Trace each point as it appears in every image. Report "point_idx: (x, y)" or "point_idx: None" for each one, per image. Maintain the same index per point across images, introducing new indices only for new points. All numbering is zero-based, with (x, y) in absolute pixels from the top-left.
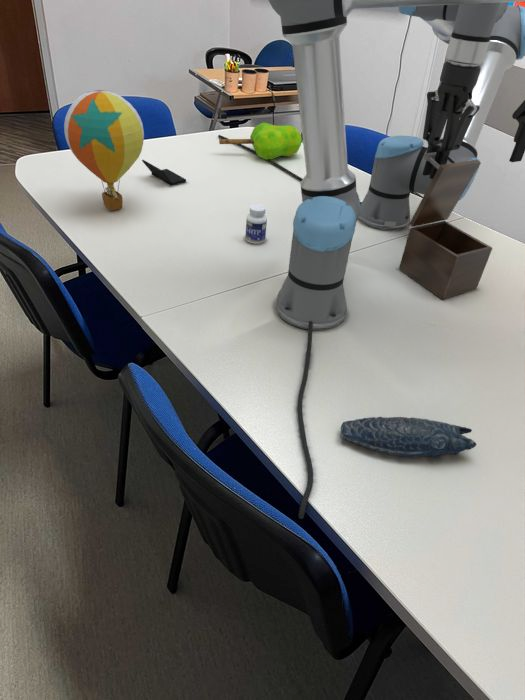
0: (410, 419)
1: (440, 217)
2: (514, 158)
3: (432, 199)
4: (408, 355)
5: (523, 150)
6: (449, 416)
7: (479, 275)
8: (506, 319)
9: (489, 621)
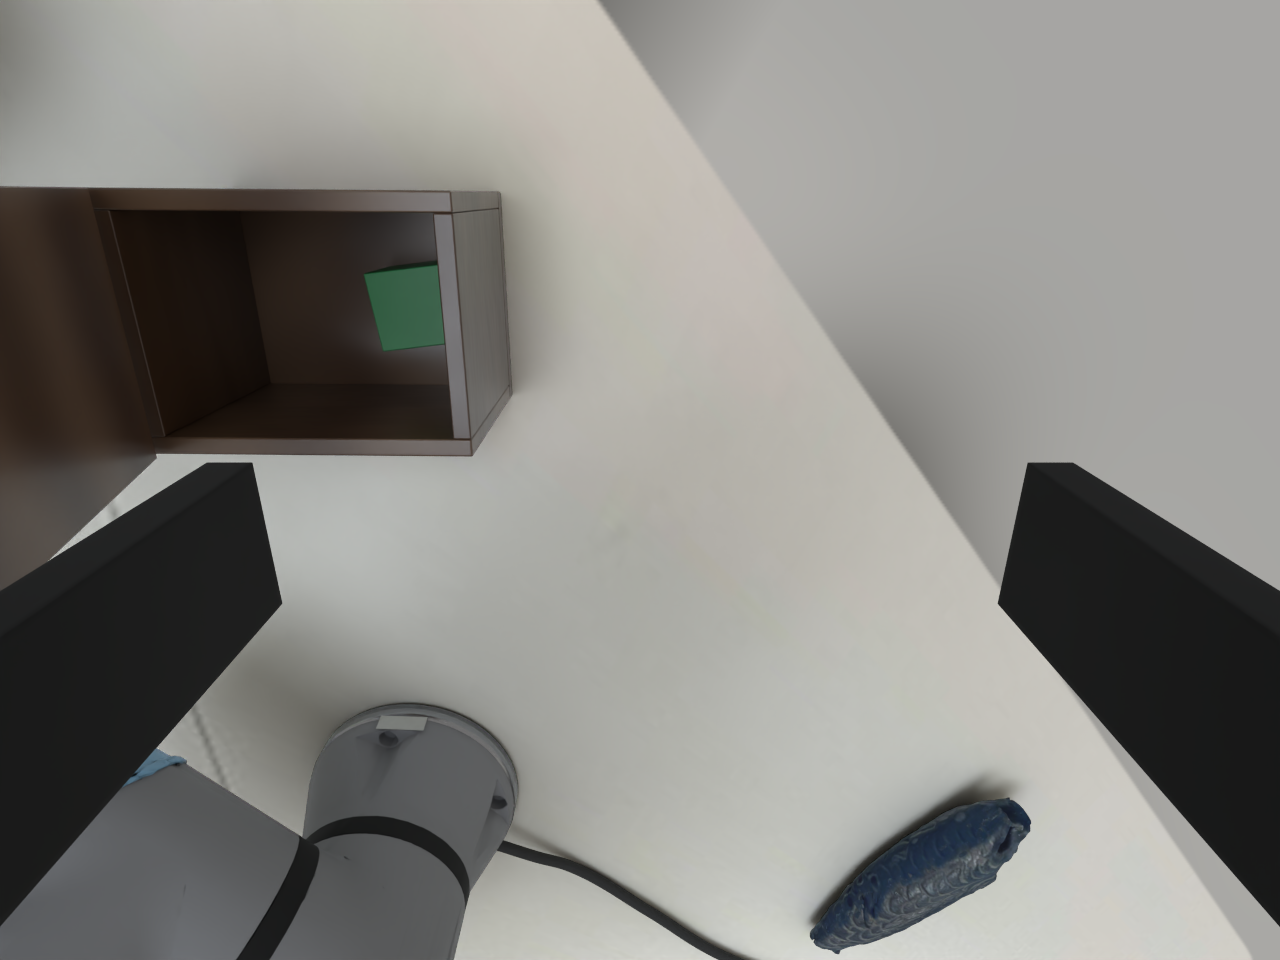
0: (915, 906)
1: (95, 270)
2: (259, 613)
3: (70, 478)
4: (698, 685)
5: (185, 547)
6: (909, 742)
7: (487, 212)
8: (713, 260)
9: (1191, 942)
